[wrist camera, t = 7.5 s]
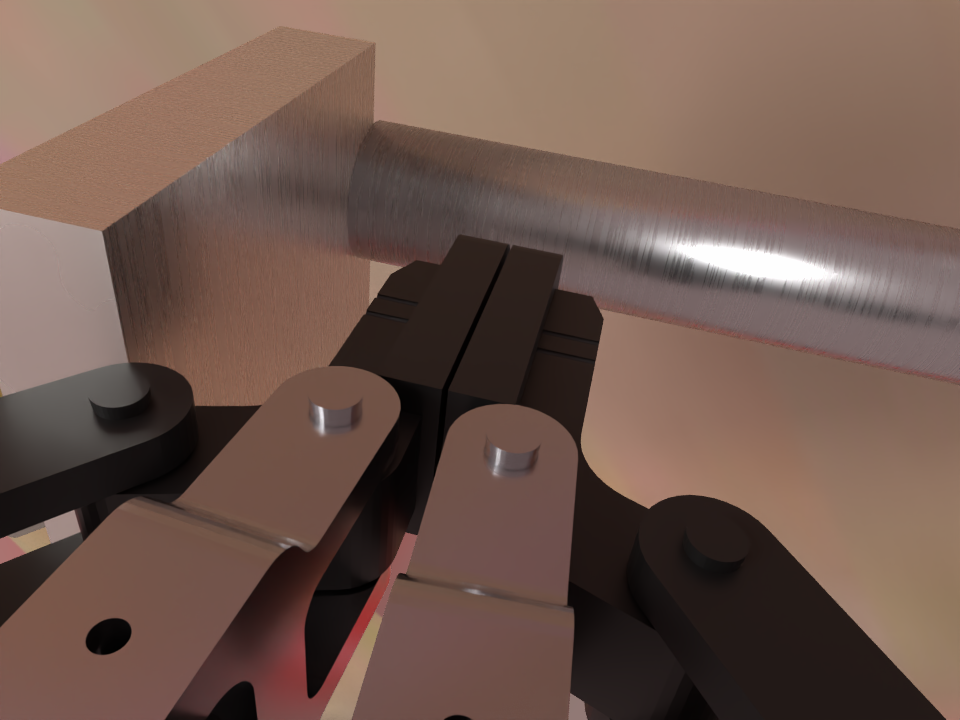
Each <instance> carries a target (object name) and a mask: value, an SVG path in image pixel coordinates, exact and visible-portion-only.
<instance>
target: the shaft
mask: <svg viewBox="0 0 960 720" xmlns="http://www.w3.org/2000/svg"><path fill="white" fill-rule="evenodd" d="M374 80H375V43H374V42H368V41H363V40H357V39H351V38H345V37H340V36H334V35H328V34H323V33H317V32H311V31H305V30H300V29H294V28H288V27H283V26H279V27H277V28H275V29H273V30H271V31H269V32H267V33H265V34H263V35H261V36H259V37H257V38H255V39H253V40H251V41H249V42H247V43H245V44H243V45H241V46H239V47H237V48H235V49H233V50H231V51H229V52H227V53H225V54H223V55H221V56H219V57H217V58H215V59H213V60H211V61H209V62H207V63H204V64H202V65H200V66H198V67H196V68H194V69H192V70H190V71H188V72H186V73H184V74H182V75H180V76H178V77H176V78H174V79H172V80H170V81H168V82H166V83H164V84H162V85H160V86H158V87H156V88H154V89H152V90H150V91H148V92H146V93H144V94H142V95H140V96H138V97H136V98H134V99H132V100H130V101H128V102H126V103H124V104H122V105H120V106H117V107H115V108H113V109H111V110H109V111H107V112H105V113H103V114H101V115H99V116H97V117H95V118H93V119H91V120H89V121H87V122H85V123H83V124H81V125H79V126H77V127H75V128H73V129H71V130H69V131H67V132H65V133H63V134H61V135H59V136H57V137H55V138H53V139H51V140H49V141H47V142H45V143H43V144H41V145H39V146H37V147H35V148H32V149H30V150H28V151H26V152H24V153H22V154H20V155H18V156H16V157H14V158H12V159H10V160H8V161H6V162H4V163H2V164H0V389H1V392H2V395H3V396H5V395H9V394H12V393H16V392H19V391H22V390H26V389H29V388H33V387H36V386H39V385H43V384H46V383H49V382H53V381H56V380H60V379H63V378H66V377H70V376H73V375H77V374H80V373H83V372H87V371H90V370H93V369H97V368H100V367H104V366H109V365H113V364H120V363H132V362H139V363H151V364H158V365H161V366H165V367H168V368H170V369H172V370H175V371H177V372H178V373H180V374H181V375H183V376H184V377H185V378H186V379H187V380H188V382H189V384H190V385H191V387H192V391H193V396H194V403H195V406H255V405H263V403H264V402H265V401H266V400H267V399H268V398H269V397H270V396H271V394H272V393H273V392H274V391H275V390H276V389H277V388H278V387H279V386H280V385H281V384H282V383H283V382H284V381H286V380H287V379H289V378H290V377H292V376H294V375H296V374H298V373H300V372H303V371H306V370H310V369H314V368H319V367H327V366H329V364H330V363H331V362H332V360H333V359H334V357H335V356H336V354H337V353H338V351H339V350H340V348H341V347H342V345H343V344H344V342H345V341H346V340H347V338H348V337H349V335H350V334H351V332H352V331H353V329H354V328H355V326H356V325H357V323H358V322H359V320H360V319H361V317H362V316H363V315H364V314H365V315H366V311H367V309H368V307H369V282H370V260H371V261H376V262H381V263H386V264H390V265H395V266H400V267H405V266H407V265H408V264H410V263H412V262H414V261H416V260H420V261H424V262H429V263H434V264H439V265H441V264H442V262H443V260H444V258H445V257H446V255H447V253H448V252H449V250H450V248H451V247H452V245H453V243H454V241H455V240H456V238H457V236H458V235H459V234H462V235H467V236H472V237H477V238H482V239H487V240H492V241H497V242H502V243H507V244H510V250H511V248H512V246H513V245H517V246H522V247H527V248H532V249H537V250H542V251H547V252H552V253H557V254H561V255H563V264H562V270H561V275H560V281H559V286H558V289H559V290H564V291H569V292H573V293H578V294H583V295H588V296H593V298H594V300H595V303H596V305H597V307H598V309H603V310H608V311H612V312H617V313H622V314H626V315H631V316H636V317H641V318H645V319H650V320H655V321H660V322H664V323H669V324H674V325H678V326H683V327H688V328H693V329H697V330H702V331H707V332H711V333H716V334H721V335H726V336H730V337H735V338H740V339H745V340H749V341H754V342H759V343H763V344H768V345H773V346H778V347H782V348H787V349H792V350H797V351H801V352H806V353H811V354H815V355H820V356H825V357H830V358H834V359H839V360H844V361H848V362H853V363H858V364H863V365H867V366H872V367H877V368H882V369H886V370H891V371H896V372H900V373H905V374H910V375H915V376H919V377H924V378H929V379H934V380H938V381H943V382H948V383H952V384H957V385H960V229H957V228H951V227H946V226H941V225H935V224H930V223H925V222H919V221H914V220H909V219H903V218H898V217H893V216H887V215H882V214H877V213H871V212H866V211H861V210H856V209H850V208H845V207H840V206H834V205H829V204H824V203H818V202H813V201H808V200H802V199H797V198H792V197H786V196H781V195H776V194H770V193H765V192H760V191H754V190H749V189H744V188H738V187H733V186H728V185H722V184H717V183H712V182H706V181H701V180H696V179H690V178H685V177H680V176H674V175H669V174H664V173H659V172H653V171H648V170H643V169H637V168H632V167H627V166H621V165H616V164H611V163H605V162H600V161H595V160H589V159H584V158H579V157H573V156H568V155H563V154H557V153H552V152H547V151H541V150H536V149H531V148H525V147H520V146H515V145H509V144H504V143H499V142H493V141H488V140H483V139H477V138H472V137H467V136H462V135H456V134H451V133H446V132H440V131H435V130H430V129H424V128H419V127H414V126H408V125H403V124H398V123H392V122H387V121H381V120H379V121H376V122H375V123H374V124H373V121H374ZM44 523H45V526H46V529H47V533H48V536H49V539H50V542H51V544H52V543H54V542H57V541H59V540H62V539H64V538H67V537H69V536H72V535H74V534H77V533H79V532H80V528H79V525H78V521H77V518H76V514H75V511H74V510H73V511H70V512H68V513H65V514H62V515H60V516H57V517H55V518H52V519H49V520H47V521H44Z"/></svg>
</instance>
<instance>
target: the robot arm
mask: <svg viewBox="0 0 960 720" xmlns="http://www.w3.org/2000/svg"><path fill="white" fill-rule="evenodd" d="M562 264H563V255H561V254H557V253H552V252H547V251H542V250H537V249H532V248H527V247H522V246H517V245H513V246H512V248H511V250H510V244H507V243H502V242H497V241H492V240H487V239H482V238H477V237H472V236H467V235H462V234H459V235H458V236H457V238H456V240H455V241H454V243H453V245H452V247H451V248H450V250H449V252H448V253H447V255H446V257H445V258H444V260H443V262H442V264H441V265H439V264H434V263H429V262H424V261H420V260H416V261H414V262H412V263H410V264H408V265H407V266H405V267H403V268H401V269H399V270H398V271H396V272H394V273H392V274H391V275H390V276H389V278H388V279H387V281H386V282H385V284H384V285H383V287H382V288H381V290H380V291H379V293H378V295H377V298H374V300H373V301H372V303H371V304H370V306H369V307H368V309H367V311H366V315H365V314H364V315H363V316H362V317H361V319H360V320H359V322H358V323H357V325H356V326H355V328H354V329H353V331H352V332H351V334H350V335H349V337H348V338H347V340H346V341H345V342H344V344H343V345H342V347H341V348H340V350H339V351H338V353H337V354H336V356H335V357H334V359H333V360H332V362H331V363H330V364H329V366H327V367H319V368H314V369H310V370H306V371H303V372H300V373H298V374H296V375H294V376H292V377H290V378H289V379H287V380H286V381H284V382H283V383H282V384H281V385H280V386H279V387H278V388H277V389H276V390H275V391H274V392H273V393H272V394H271V396H270V397H269V398H268V399H267V400H266V401H265V402H264V403H263V405H255V406H195V403H194V396H193V391H192V387H191V385H190V384H189V382H188V380H187V379H186V378H185V377H184V376H183V375H181V374H180V373H178V372H177V371H175V370H172V369H170V368H168V367H165V366H161V365H158V364H151V363H139V362H132V363H120V364H113V365H109V366H104V367H100V368H97V369H93V370H90V371H87V372H83V373H80V374H77V375H73V376H70V377H66V378H63V379H60V380H56V381H53V382H49V383H46V384H43V385H39V386H36V387H33V388H29V389H26V390H22V391H19V392H16V393H12V394H9V395H5V396H2V397H0V538H3V537H5V536H8V535H10V534H13V533H16V532H18V531H21V530H23V529H26V528H29V527H31V526H34V525H36V524H39V523H42V522H44V521H47V520H49V519H52V518H55V517H57V516H60V515H62V514H65V513H68V512H70V511H73V510H74V511H75V514H76V518H77V521H78V525H79V528H80V532H79V533H77V534H74V535H72V536H69V537H67V538H64V539H62V540H59V541H57V542H54V543H52V544H49V545H47V546H44V547H42V548H39V549H37V550H34V551H32V552H29V553H27V554H24V555H22V556H20V557H17V558H14V559H12V560H10V561H7V562H4V563H2V564H0V720H320V719H321V716H322V714H323V712H324V710H325V708H326V706H327V704H328V702H329V700H330V698H331V696H332V694H333V692H334V690H335V688H336V686H337V685H338V683H339V681H340V679H341V677H342V675H343V673H344V671H345V669H346V667H347V665H348V663H349V661H350V659H351V657H352V655H353V653H354V651H355V649H356V647H357V645H358V644H359V642H360V640H361V638H362V636H363V634H364V632H365V630H366V628H367V626H368V624H369V622H370V620H371V618H372V616H373V614H374V612H375V610H376V608H377V606H378V604H379V603H380V601H381V599H382V597H383V595H384V592H385V591H386V589H387V586H388V584H389V581H390V576H391V564H392V562H393V560H394V558H395V556H396V554H397V551H398V549H399V546H400V544H401V542H402V539H403V537H404V534H405V532H407V533H411V534H415V535H418V536H417V539H416V543H415V546H414V550H413V553H412V556H411V560H410V563H409V566H408V569H407V572H406V574H403V573H399V574H398V576H397V578H396V580H395V582H394V585H393V587H392V590H391V593H390V596H389V599H388V602H387V605H386V608H385V612H384V615H383V618H382V622H381V625H380V628H379V631H378V635H377V638H376V641H375V645H374V648H373V651H372V654H371V658H370V661H369V664H368V668H367V671H366V674H365V678H364V681H363V684H362V687H361V691H360V694H359V697H358V701H357V704H356V707H355V710H354V714H353V717H352V720H568V715H569V701H570V693H571V694H573V695H574V696H576V697H578V698H579V699H581V700H582V701H584V702H585V711H586V715H587V719H588V720H946V719H945V718H944V717H943V716H942V714H941V713H940V712H939V711H938V710H937V709H936V708H935V707H934V706H933V705H932V704H931V703H930V702H929V701H928V700H927V698H926V697H925V696H924V695H923V694H922V693H921V692H920V691H919V690H918V689H917V688H916V687H915V686H914V685H913V684H912V682H911V681H910V680H909V679H908V678H907V677H906V676H905V675H904V674H903V673H902V672H901V671H900V670H899V669H898V668H897V666H896V665H895V664H894V663H893V662H892V661H891V660H890V659H889V658H888V657H887V656H886V655H885V654H884V653H883V652H882V650H881V649H880V648H879V647H878V646H877V645H876V644H875V643H874V642H873V641H872V640H871V639H870V638H869V637H868V636H867V635H866V633H865V632H864V631H863V630H862V629H861V628H860V627H859V626H858V625H857V624H856V623H855V622H854V621H853V620H852V619H851V617H850V616H849V615H848V614H847V613H846V612H845V611H844V610H843V609H842V608H841V607H840V606H839V605H838V604H837V603H836V601H835V600H834V599H833V598H832V597H831V596H830V595H829V594H828V593H827V592H826V591H825V590H824V589H823V588H822V587H821V585H820V584H819V583H818V582H817V581H816V580H815V579H814V578H813V577H812V576H811V575H810V574H809V573H808V572H807V571H806V569H805V568H804V567H803V566H802V565H801V564H800V563H799V562H798V561H797V560H796V559H795V558H794V557H793V556H792V555H791V553H790V552H789V551H788V550H787V549H786V548H785V547H784V546H783V545H782V544H781V543H780V542H779V541H778V540H777V539H776V537H775V536H774V535H773V534H772V533H771V532H770V531H769V530H768V529H767V528H766V527H765V526H764V525H763V524H762V523H760V522H759V521H758V520H757V519H755V518H754V517H753V516H751V515H750V514H748V513H747V512H745V511H743V510H741V509H740V508H738V507H736V506H734V505H731V504H729V503H727V502H724V501H721V500H718V499H715V498H710V497H705V496H696V495H682V496H675V497H670V498H667V499H665V500H662V501H660V502H658V503H657V504H655V505H653V506H652V507H651V508H650V509H648V508H646V507H644V506H642V505H640V504H638V503H636V502H634V501H632V500H630V499H628V498H626V497H624V496H623V495H621V494H619V493H618V492H616V491H614V490H613V489H612V488H610V487H609V486H607V485H606V484H605V483H604V482H603V481H602V480H601V479H600V478H598V477H597V476H596V474H595V473H594V472H593V471H592V469H591V468H590V467H589V465H588V463H587V462H586V460H585V458H584V455H583V452H582V449H581V432H582V427H583V422H584V417H585V412H586V407H587V402H588V397H589V392H590V386H591V381H592V376H593V371H594V366H595V361H596V356H597V351H598V345H599V340H600V335H601V330H602V325H603V320H604V319H603V317H602V315H601V313H600V311H599V309H598V307H597V305H596V303H595V300H594V298H593V296H588V295H583V294H578V293H573V292H569V291H564V290H559V289H558V286H559V281H560V275H561V270H562Z"/></svg>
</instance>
